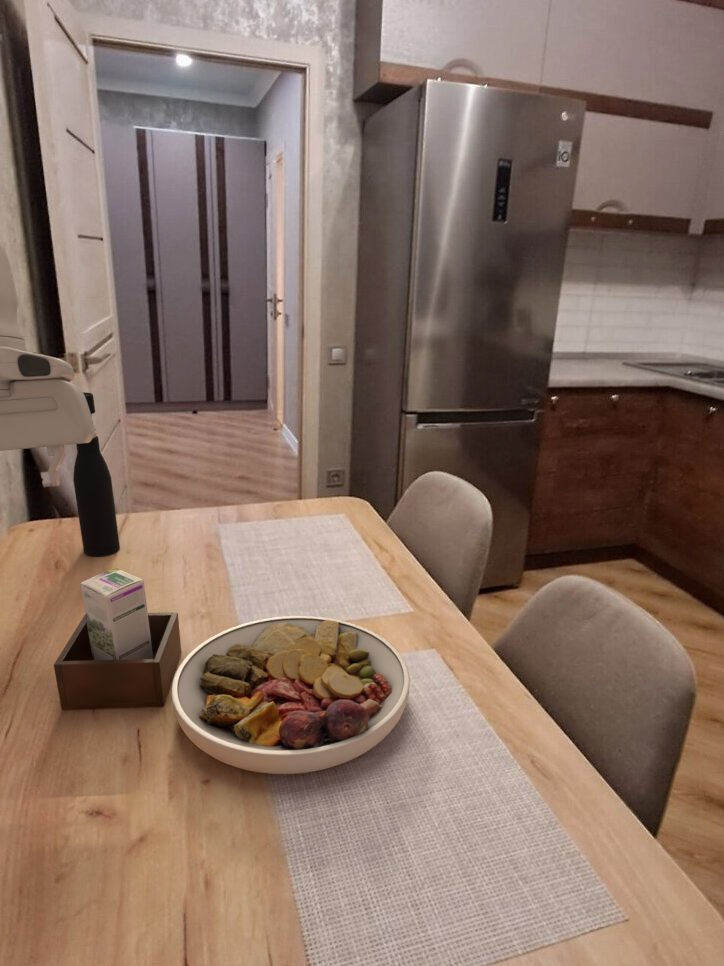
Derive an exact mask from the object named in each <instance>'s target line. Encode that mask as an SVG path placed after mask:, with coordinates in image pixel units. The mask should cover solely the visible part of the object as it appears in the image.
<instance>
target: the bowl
mask: <svg viewBox="0 0 724 966" xmlns="http://www.w3.org/2000/svg"><path fill="white" fill-rule="evenodd" d="M410 678H411V677H410V672H409V668H408V665H407V663H406V661H405V659H404V657H403V656H402V654H401V653H400V652H399V651H398V649H397V648H396V647H395V646H394V645H393V644H392V643H390V642H389V641H388V640H387V639H386V638H384V637H383V636H381V635H379V634H377V632H374V631H372V630H370V629H369V628H366V627H364V626H361V625H358V624H356V623H355V624H354V623H352V622H348V621H344V620H340V619H336V618H330V617H324V616H312V615H286V616H285V615H284V616H275V617H269V618H268V617H267V618H262V619H257V620H251V621H249V622H244V623H242V624H239V625H236V626H233V627H230V628H228V629H225V630H223V631H221V632H219V633H216V634H214V635H213V636H211V637H209V638H207V639H206V640H204V641H203V642H201V643H200V644H199V645H197V646H196V647H194V648H193V649H192V650H191V651H190V652H189V654H187V655H186V656H185V658H183V660H182V661H181V662H180V664H179V665H178V666H177V668H176V671H175V674H174V677H173V680H172V683H171V691H170V693H171V703H172V709H173V712H174V714H175V718H176V720H177V722H178V724H179V726H180V728H181V730H182V732H183V733H184V734H185V735H186V736H187V738H188V739H189V741H191V742H192V743H193V744H194V746H196V747H197V748H199V749H200V750H201V751H203V752H204V753H205V754H207V755H209V756H210V757H212V758H214V759H215V760H217V761H220V762H221V763H224V764H226V765H228V766H232V767H235V768H238V769H241V770H245V771H249V772H255V773H260V774H269V775H270V774H271V775H296V774H297V775H298V774H304V773H305V774H306V773H313V772H317V771H322V770H326V769H330V768H333V767H337V766H340V765H343V764H345V763H347V762H350V761H352V760H354V759H356V758H358V757H360V756H362V755H364V754H365V753H367V752H368V751H370V750H372V749H373V748H374V747H376V746H377V745H378V744H379V743H380V742H382V741H383V740H384V739H385V738H386V737H387V736H388V735H389V734H390V733H391V732H392V731H393V729H394V728H395V727H396V725H397V724H398V722H400V720H401V718H402V715H403V713H404V711H405V708H406V707H407V703H408V699H409V694H410V681H411V680H410Z"/></svg>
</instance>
